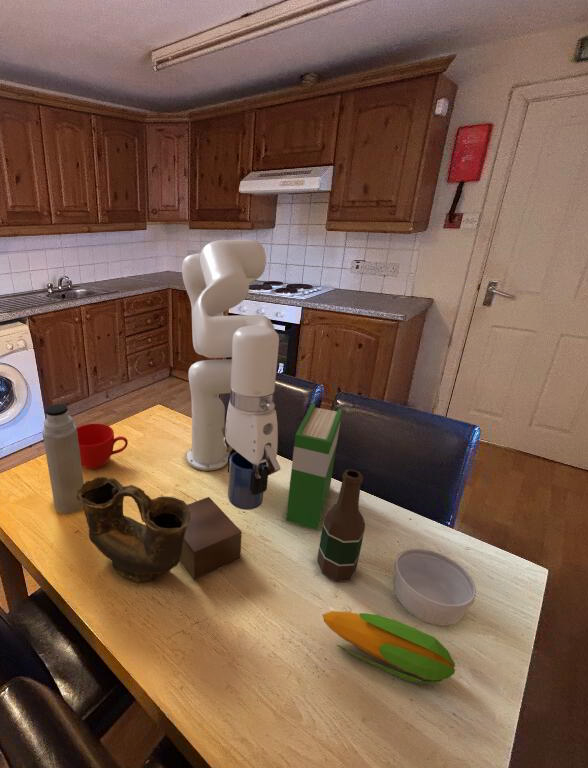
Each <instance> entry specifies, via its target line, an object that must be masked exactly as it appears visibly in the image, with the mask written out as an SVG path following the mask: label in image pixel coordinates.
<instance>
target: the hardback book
mask: <svg viewBox="0 0 588 768" xmlns="http://www.w3.org/2000/svg"><path fill="white" fill-rule="evenodd" d="M342 413H343V408H339V407H338V409H337V411H335V410H330V409H325V408H322V407H321V408H320V407H316V403H312V402H311V404H310V406H309V407H308V409H307V411H306V413H305V415H304V417H303V419H302V421H301V422H300V425H299V427H298V429H297V431H296V433H295V435H294V445H293V452H292V463H291V470H290V471H291V472H290V480H289V488H288V489H289V490H288V498H287V506H286V516H285V521H286V522H289V523H293V524H296V525H299V526H301V527H302V526H303V527H305V528H309V529H312V530H314V531H318V529H319V526H320V523H321V520H322V516H323V512H324V509H325V505H326V503H327V499H328V497H329V493H330V489H331V483H332V477H333V472H334V471H333V470H334V464H335V458H336V451H337V447H338V440H339V433H340V427H341V421H342Z"/></svg>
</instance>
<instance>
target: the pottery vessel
mask: <svg viewBox="0 0 588 768" xmlns="http://www.w3.org/2000/svg"><path fill="white" fill-rule="evenodd" d="M125 497H129V498H132V500H133V501H134V503H136V506H137V508H138V512H139V515H140V520H141V522H143V523H144V524H143V523H141V522H139V521H138V520H135V519H134V518H132V517H130V516H126V515H124V499H125ZM77 499H78V500H79V501H80V502H81V504H82V505H83V508H82V509H83V512H84V516H85V520H86V523H87V527H88V538H89V540H90V542H91V543H92V544H93V545H94V547H95V548H97V550H98V551H99V552H100V553H102V555H104V556H105V557H106V558H107V559H109V560H110V561H111V566H112V567H113V570H114V571H115V573H116V574H117V575H118V576H119V577H121V578H122V579H124V580H126V581H129V582H132V583H137V584H140V583H148V582H151V581H152V582H153V581H155V580H156V579H157V578H158V577H159V574H162V573H167V572H168V573H169V571H171V570H172V569H174V568H175V567H177V566H178V564H180V562H181V560H180V557H181V553H182V543H183V540H184V535H185V530H186V527H187V526H188V522H189V520H190V517H191V516H190V510H189V508H188V503H186V502H185V501H184V500H182V499H180V498H177V497H174V496H165V495H164V496H163V495H162V496H157V497H156V498H151V497H150V496H149V495H147V494H146V493H145V491H144V490H143V489H142V488H140V487H138V486H137V485H136V486H135V485H133V484H130V485H125V486H124V485H123V484H122V483H121V482H119V480H118V479H116V478H114V477H106V476H97V477H94V478H93V479H91V480H86V481H84V484H83V485H82V488H81V489H80V490H78V494H77Z"/></svg>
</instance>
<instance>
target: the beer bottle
mask: <svg viewBox="0 0 588 768" xmlns="http://www.w3.org/2000/svg"><path fill="white" fill-rule="evenodd" d="M341 478H342V482H341V485H340V490H339V493H338V497H337V500H336V502H335V503H334V504H332V506H331V507H330V509H329V510H328V511H327V512H326V513H325V515H324V518H323V522H322V527H321V533H320V540H319V545H318V551H317V561H316V563H317V565H318V567H319V569H320V571H321V574H322V575H324V576H325V577H326V578H329V579H331V580H333V581H334V582H349V581H351V579H352V578H353V576H354V574H355V573H356V570H357V568H358V563H359V559H360V554H361V549H362V545H363V540H364V536H365V530H366V523H365V519H364V516H363V515H362V513H361V511H360V504H359V503H360V496H361V486H362V483H363V481H364V476H363V475H362V473H361V472H360V471H358V470H355V469H345V471H344V472H343V473H342V475H341Z"/></svg>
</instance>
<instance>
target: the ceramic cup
mask: <svg viewBox="0 0 588 768" xmlns="http://www.w3.org/2000/svg"><path fill="white" fill-rule="evenodd" d="M77 434H78V442H79V450H80V458H81V465H82V467H84V468H86V469H88V470H96V469H97V470H98V469H101V468H102V467H104V466H105V465H106V463H108V461H109V460H110V458H111V456H112V455H116V454H119V453H122V452H123V451H125V449H127V447H128V443H129V441H128V439H127V438H126V437H125V436H116V437H115V431H114V429H113V428H112V427H111V426H109V425H108V424H104V423H88V424H84V425H83V424H82V425H80V426H78V427H77ZM118 441H124V443H125V444H124V445H123V446H122V447H121V448H118V449H116V450H114V446H115V444H116V443H117V442H118Z"/></svg>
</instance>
